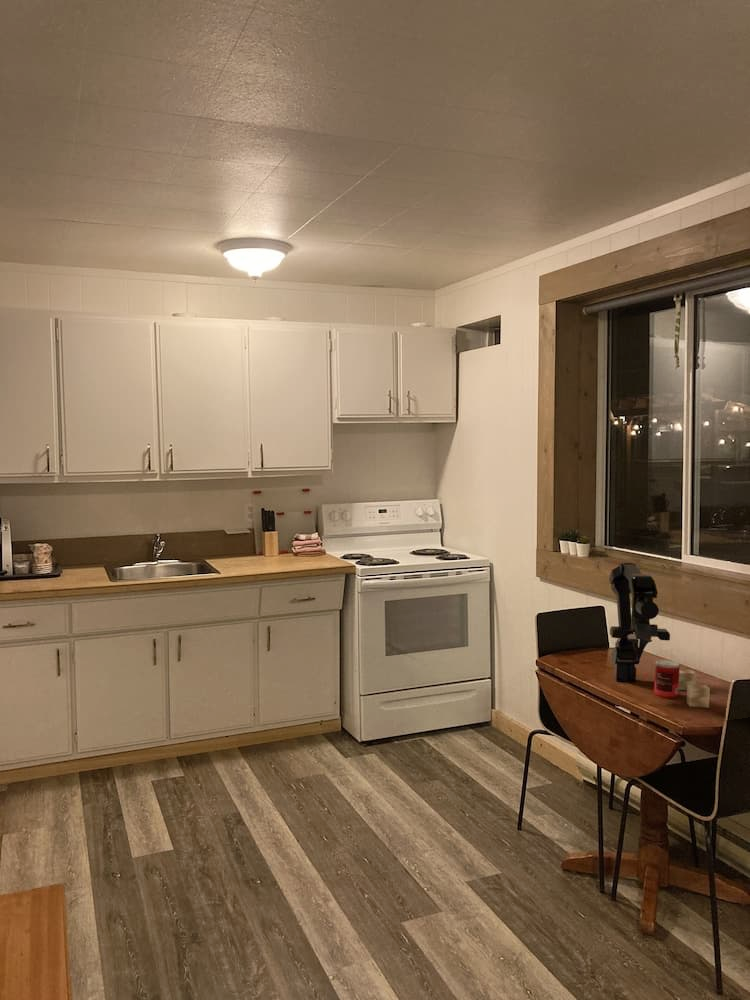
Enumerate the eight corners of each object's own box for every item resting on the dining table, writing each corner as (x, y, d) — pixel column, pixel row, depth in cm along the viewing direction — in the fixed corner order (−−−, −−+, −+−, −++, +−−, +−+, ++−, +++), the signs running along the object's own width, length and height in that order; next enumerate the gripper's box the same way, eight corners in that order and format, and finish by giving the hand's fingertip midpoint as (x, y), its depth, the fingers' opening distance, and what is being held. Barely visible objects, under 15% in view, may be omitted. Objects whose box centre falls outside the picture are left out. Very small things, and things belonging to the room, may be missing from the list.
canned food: (672, 691, 286) (674, 660, 285) (682, 699, 278) (683, 666, 277) (650, 691, 286) (651, 659, 285) (659, 698, 278) (660, 666, 277)
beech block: (689, 706, 270) (690, 688, 270) (686, 702, 274) (687, 684, 274) (708, 707, 269) (709, 689, 269) (705, 703, 273) (706, 685, 273)
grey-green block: (676, 689, 288) (677, 672, 288) (674, 686, 292) (674, 669, 292) (694, 690, 287) (695, 673, 287) (692, 687, 291) (692, 670, 291)
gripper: (615, 616, 274) (613, 663, 275) (674, 619, 272) (672, 666, 273) (610, 609, 285) (608, 654, 286) (667, 612, 283) (665, 657, 284)
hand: (638, 658), depth 282 cm, fingers closed
